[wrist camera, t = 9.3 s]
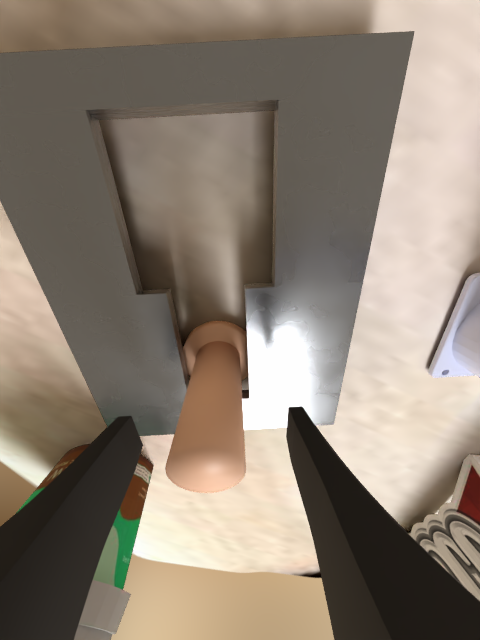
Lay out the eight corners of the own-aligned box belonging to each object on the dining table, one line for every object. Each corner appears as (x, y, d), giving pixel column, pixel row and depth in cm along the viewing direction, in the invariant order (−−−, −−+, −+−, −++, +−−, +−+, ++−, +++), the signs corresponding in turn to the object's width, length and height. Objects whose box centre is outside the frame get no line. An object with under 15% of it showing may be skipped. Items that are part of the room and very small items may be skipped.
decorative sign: (389, 529, 33) (488, 743, 20) (373, 529, 33) (463, 745, 20) (494, 453, 21) (896, 849, 8) (469, 452, 21) (842, 855, 8)
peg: (254, 320, 14) (277, 423, 7) (252, 377, 16) (268, 503, 9) (180, 321, 14) (122, 427, 7) (188, 379, 16) (150, 507, 9)
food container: (136, 421, 18) (34, 626, 9) (167, 462, 20) (114, 654, 11) (15, 452, 19) (-184, 659, 10) (59, 487, 22) (-68, 678, 12)
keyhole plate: (369, 79, 9) (414, 31, 7) (320, 398, 17) (333, 424, 15) (7, 98, 9) (-68, 56, 7) (128, 409, 17) (112, 437, 15)
